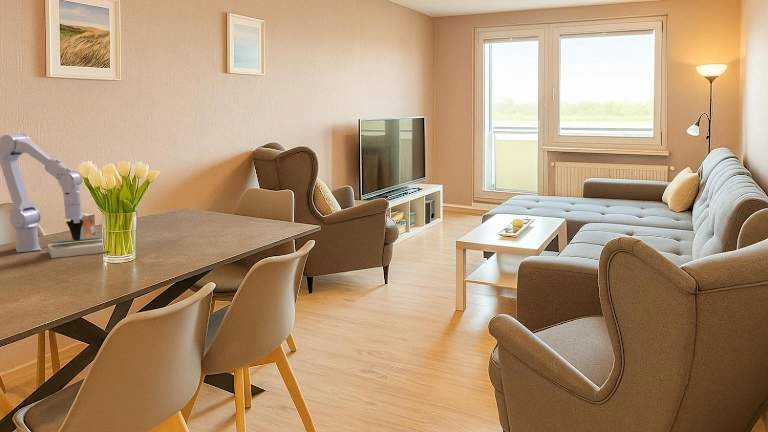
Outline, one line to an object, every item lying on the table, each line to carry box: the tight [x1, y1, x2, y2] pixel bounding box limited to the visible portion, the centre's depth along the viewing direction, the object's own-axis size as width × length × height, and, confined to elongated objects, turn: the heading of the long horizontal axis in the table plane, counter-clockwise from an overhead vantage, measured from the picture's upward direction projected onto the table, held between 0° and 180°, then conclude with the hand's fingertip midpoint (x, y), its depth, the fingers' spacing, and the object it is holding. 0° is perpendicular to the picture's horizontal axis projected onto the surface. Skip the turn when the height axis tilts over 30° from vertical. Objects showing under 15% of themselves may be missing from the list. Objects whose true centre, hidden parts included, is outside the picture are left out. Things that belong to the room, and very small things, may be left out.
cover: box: [52, 235, 103, 244], centre depth 243 cm, size 17×6×1 cm, turn 123°
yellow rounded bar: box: [68, 242, 94, 246], centre depth 243 cm, size 9×3×3 cm, turn 123°
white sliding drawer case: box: [47, 238, 104, 259], centre depth 242 cm, size 20×11×3 cm, turn 123°
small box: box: [71, 213, 97, 242], centre depth 262 cm, size 8×6×10 cm
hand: (76, 239), depth 241 cm, fingers closed, pressing on cover
